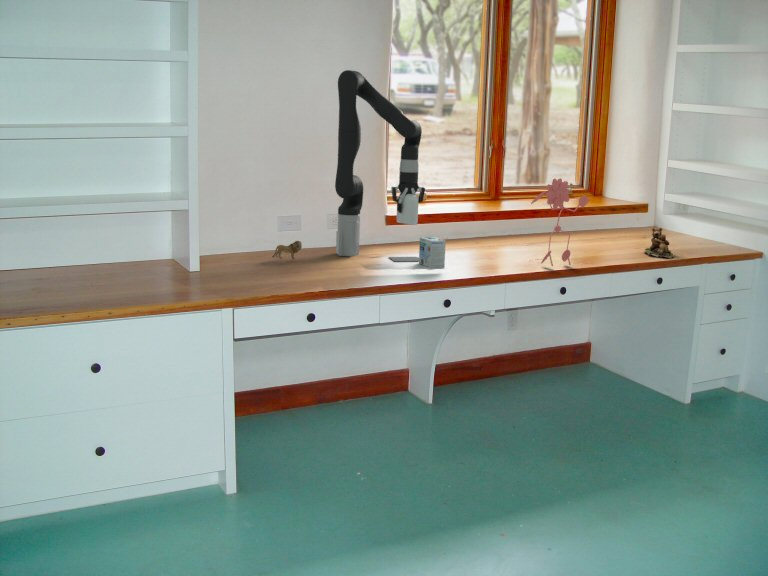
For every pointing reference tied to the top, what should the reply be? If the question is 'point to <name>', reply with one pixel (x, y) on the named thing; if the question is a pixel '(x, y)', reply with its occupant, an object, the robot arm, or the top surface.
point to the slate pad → (404, 259)
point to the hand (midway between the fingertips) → (407, 212)
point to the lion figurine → (288, 249)
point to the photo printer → (408, 210)
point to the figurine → (557, 197)
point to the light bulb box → (432, 252)
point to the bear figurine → (659, 245)
